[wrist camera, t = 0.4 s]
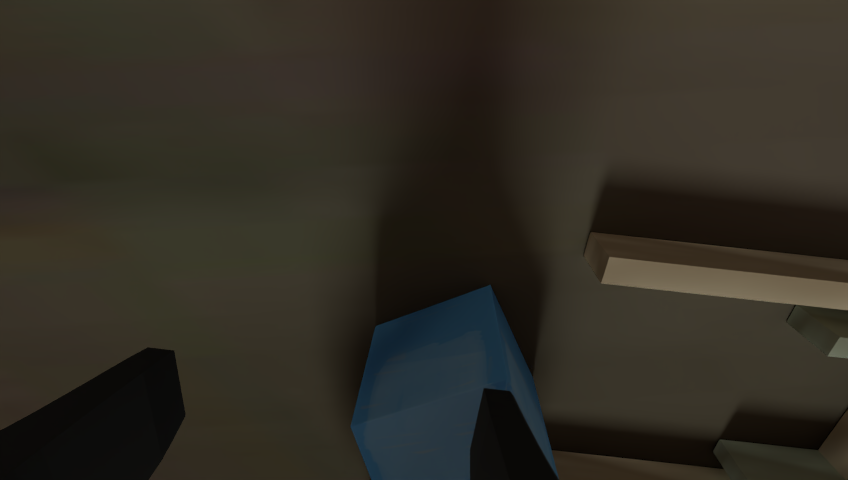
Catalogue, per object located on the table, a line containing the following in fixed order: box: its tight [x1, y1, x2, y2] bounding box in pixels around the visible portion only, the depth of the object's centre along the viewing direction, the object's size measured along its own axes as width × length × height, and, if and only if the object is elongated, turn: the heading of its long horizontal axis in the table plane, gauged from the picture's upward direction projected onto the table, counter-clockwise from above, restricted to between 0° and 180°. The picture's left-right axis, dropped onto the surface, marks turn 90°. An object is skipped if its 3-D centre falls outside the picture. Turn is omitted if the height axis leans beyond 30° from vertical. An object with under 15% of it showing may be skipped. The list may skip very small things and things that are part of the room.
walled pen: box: [552, 232, 848, 480], centre depth 21 cm, size 15×17×2 cm
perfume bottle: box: [351, 285, 559, 480], centre depth 16 cm, size 6×6×12 cm
